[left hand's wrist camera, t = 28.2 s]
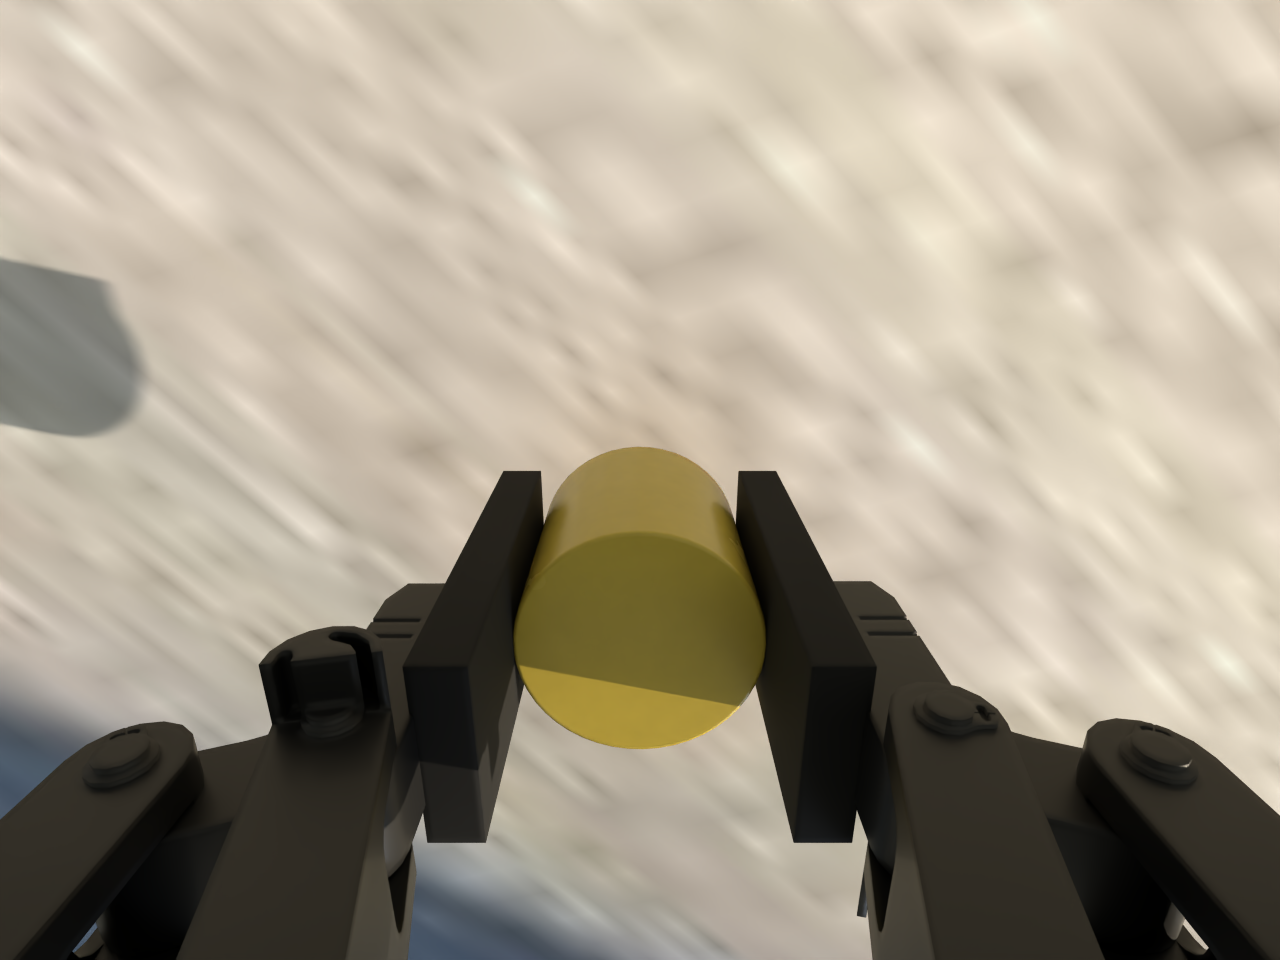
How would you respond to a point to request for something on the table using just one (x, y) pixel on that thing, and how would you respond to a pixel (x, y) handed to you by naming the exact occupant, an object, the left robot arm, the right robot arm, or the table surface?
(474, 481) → the table surface
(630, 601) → the can
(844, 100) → the table surface
